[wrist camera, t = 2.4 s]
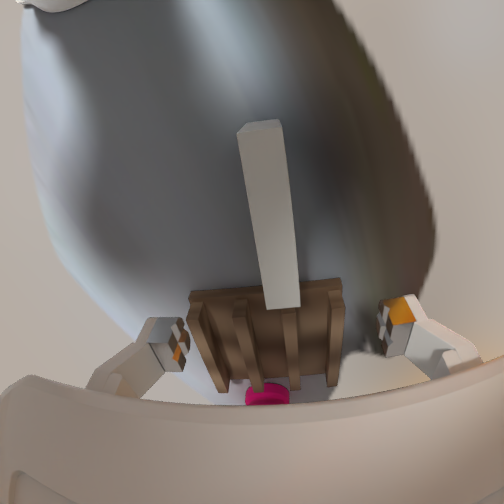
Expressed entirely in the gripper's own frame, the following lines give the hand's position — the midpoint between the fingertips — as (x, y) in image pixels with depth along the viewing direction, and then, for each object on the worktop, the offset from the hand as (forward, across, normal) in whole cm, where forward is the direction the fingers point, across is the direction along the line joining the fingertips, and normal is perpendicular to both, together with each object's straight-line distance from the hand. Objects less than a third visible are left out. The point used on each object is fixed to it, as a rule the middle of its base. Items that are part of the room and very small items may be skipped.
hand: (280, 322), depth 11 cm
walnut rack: (+14, +2, +15) cm, 21 cm away
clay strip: (+14, 0, -1) cm, 14 cm away
